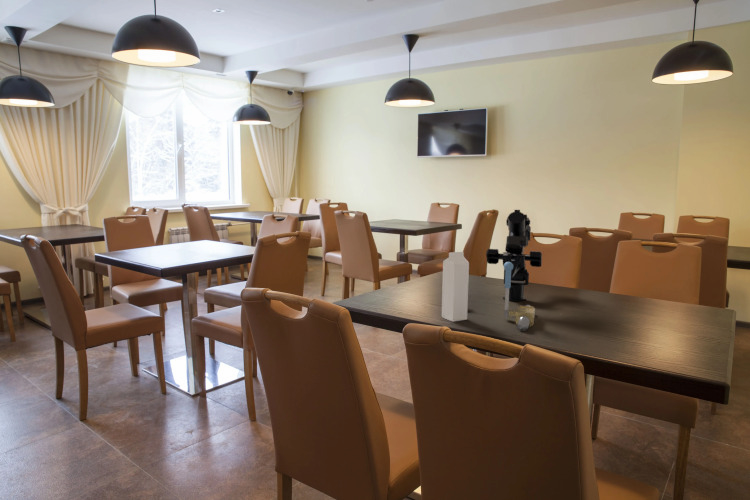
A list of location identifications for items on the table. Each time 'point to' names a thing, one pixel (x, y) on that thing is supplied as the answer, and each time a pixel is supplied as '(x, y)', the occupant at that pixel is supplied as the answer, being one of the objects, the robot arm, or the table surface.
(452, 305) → the milk
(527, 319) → the valve
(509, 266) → the lever
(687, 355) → the table surface
